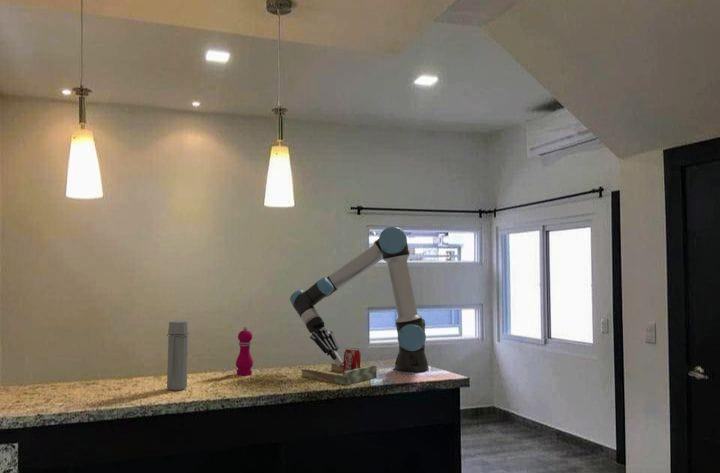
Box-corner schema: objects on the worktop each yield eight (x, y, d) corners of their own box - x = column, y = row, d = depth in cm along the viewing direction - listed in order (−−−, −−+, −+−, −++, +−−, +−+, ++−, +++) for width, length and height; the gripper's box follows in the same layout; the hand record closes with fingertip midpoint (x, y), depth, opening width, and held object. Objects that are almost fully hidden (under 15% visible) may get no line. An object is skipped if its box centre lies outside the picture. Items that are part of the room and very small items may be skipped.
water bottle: (171, 386, 234) (173, 320, 235) (191, 387, 233) (192, 320, 234) (159, 391, 225) (161, 322, 226) (179, 392, 224) (181, 323, 224)
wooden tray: (332, 370, 274) (332, 358, 274) (376, 377, 259) (376, 365, 259) (301, 376, 258) (302, 364, 258) (346, 384, 243) (346, 371, 244)
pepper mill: (233, 375, 257) (234, 327, 258) (237, 372, 264) (238, 325, 265) (250, 376, 257) (252, 327, 257) (254, 372, 264) (255, 325, 265)
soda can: (361, 379, 254) (362, 350, 255) (344, 379, 253) (345, 349, 253) (357, 376, 261) (359, 347, 261) (341, 376, 260) (342, 347, 260)
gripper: (318, 325, 275) (345, 368, 264) (297, 327, 265) (325, 372, 254) (327, 314, 272) (355, 357, 261) (307, 316, 262) (335, 361, 251)
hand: (340, 365), depth 257 cm, fingers closed
